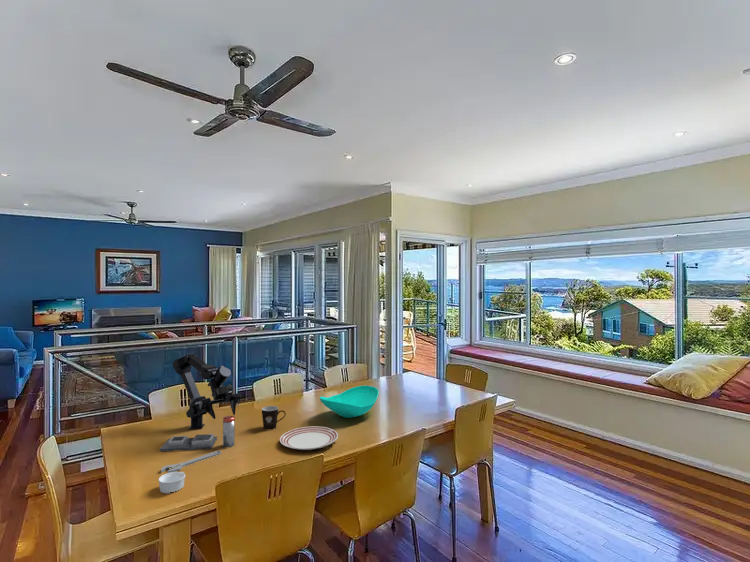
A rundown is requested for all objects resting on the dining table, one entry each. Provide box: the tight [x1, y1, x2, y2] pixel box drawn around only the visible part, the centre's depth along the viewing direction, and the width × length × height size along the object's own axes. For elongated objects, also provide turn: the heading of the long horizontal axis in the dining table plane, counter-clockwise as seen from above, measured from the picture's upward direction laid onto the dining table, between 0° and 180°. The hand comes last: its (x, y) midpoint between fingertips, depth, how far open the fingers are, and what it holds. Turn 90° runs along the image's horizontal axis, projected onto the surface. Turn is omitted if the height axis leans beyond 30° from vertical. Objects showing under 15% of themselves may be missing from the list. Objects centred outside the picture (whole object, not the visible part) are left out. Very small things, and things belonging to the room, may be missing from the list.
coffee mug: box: [261, 405, 286, 430], centre depth 214 cm, size 12×9×10 cm
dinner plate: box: [279, 425, 339, 451], centre depth 195 cm, size 27×27×3 cm
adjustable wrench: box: [160, 450, 222, 474], centre depth 172 cm, size 25×6×2 cm, turn 137°
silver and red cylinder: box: [222, 415, 236, 448], centre depth 190 cm, size 5×5×13 cm
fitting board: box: [159, 433, 218, 452], centre depth 191 cm, size 12×22×3 cm, turn 99°
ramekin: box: [158, 471, 186, 494], centre depth 151 cm, size 9×9×4 cm
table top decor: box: [319, 385, 380, 419], centre depth 235 cm, size 40×28×13 cm
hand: (224, 416), depth 195 cm, fingers open, 9 cm apart
